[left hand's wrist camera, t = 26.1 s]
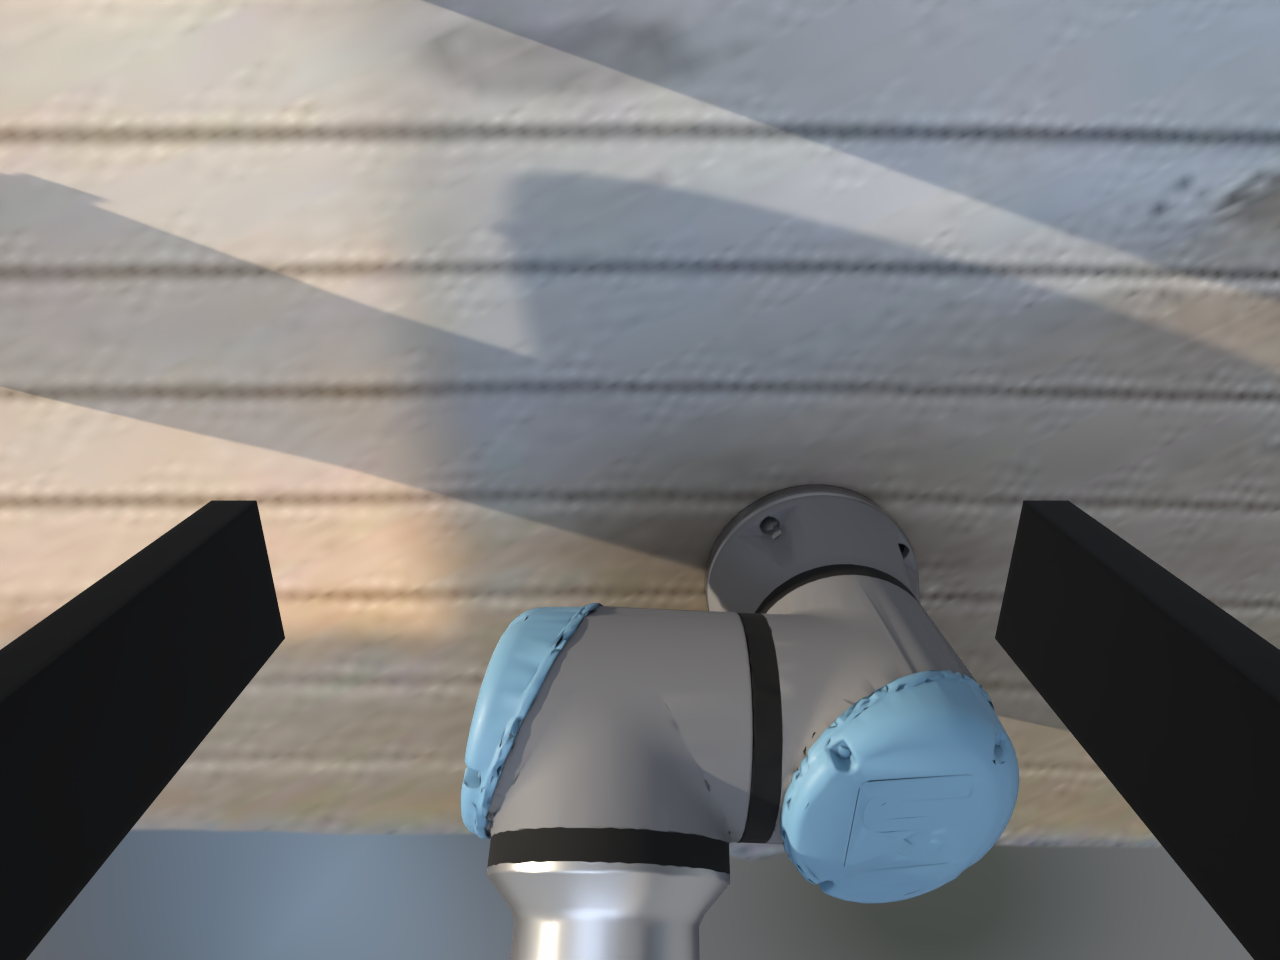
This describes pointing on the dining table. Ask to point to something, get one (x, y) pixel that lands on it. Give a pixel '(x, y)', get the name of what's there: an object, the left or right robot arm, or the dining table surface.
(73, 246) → the dining table surface
